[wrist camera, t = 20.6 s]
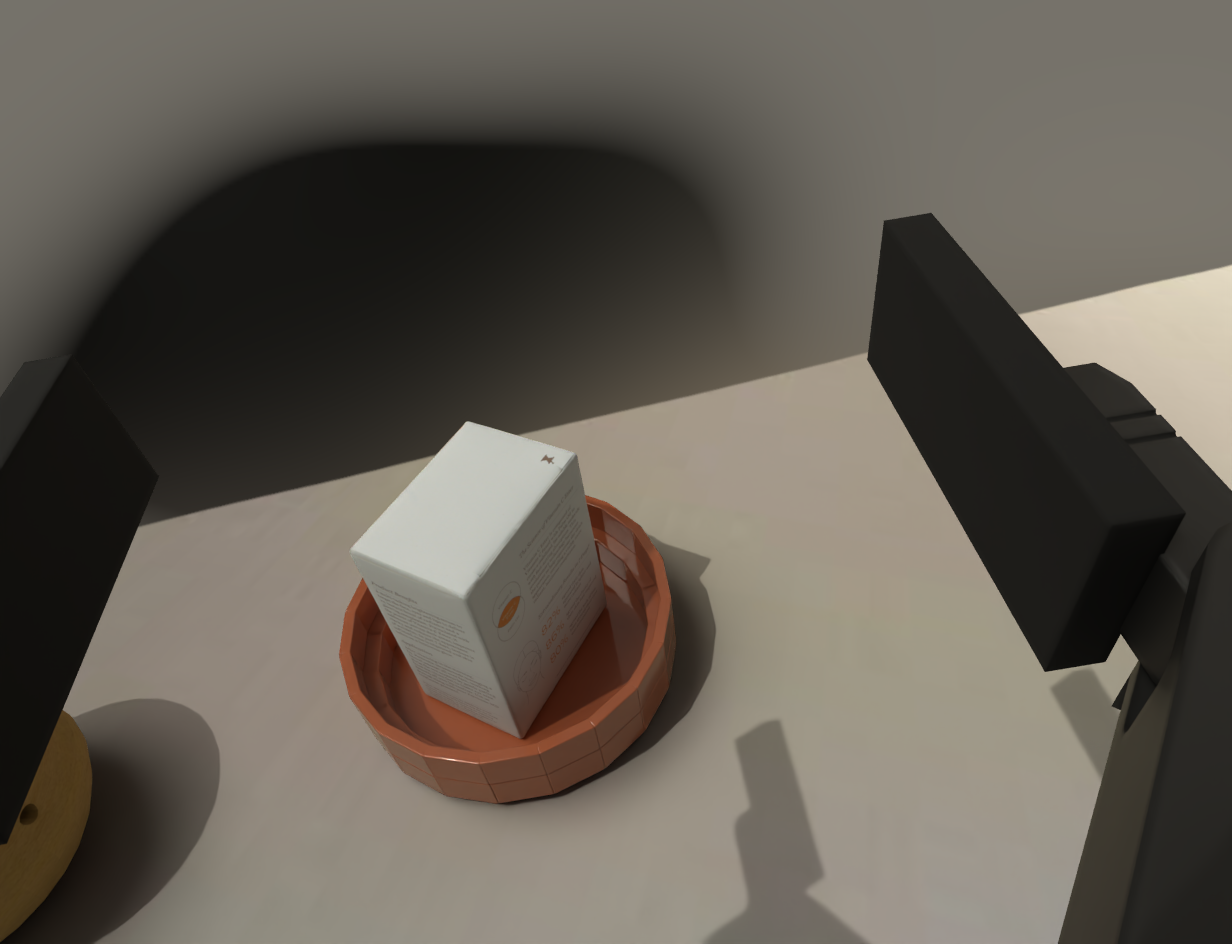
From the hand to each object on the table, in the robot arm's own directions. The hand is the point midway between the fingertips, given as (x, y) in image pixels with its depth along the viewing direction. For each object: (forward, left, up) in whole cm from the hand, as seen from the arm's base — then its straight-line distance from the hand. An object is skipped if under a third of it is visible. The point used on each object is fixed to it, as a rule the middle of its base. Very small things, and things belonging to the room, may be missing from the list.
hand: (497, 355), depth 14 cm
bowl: (+4, -11, -25) cm, 28 cm away
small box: (+4, -11, -25) cm, 27 cm away
